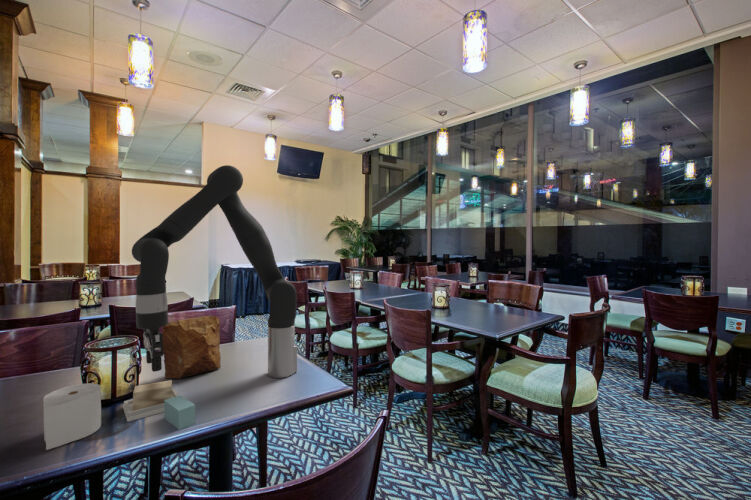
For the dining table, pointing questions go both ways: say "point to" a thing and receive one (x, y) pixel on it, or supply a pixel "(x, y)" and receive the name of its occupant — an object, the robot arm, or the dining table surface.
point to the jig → (143, 409)
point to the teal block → (179, 412)
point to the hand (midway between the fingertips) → (153, 366)
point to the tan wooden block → (151, 394)
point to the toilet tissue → (71, 414)
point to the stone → (191, 346)
